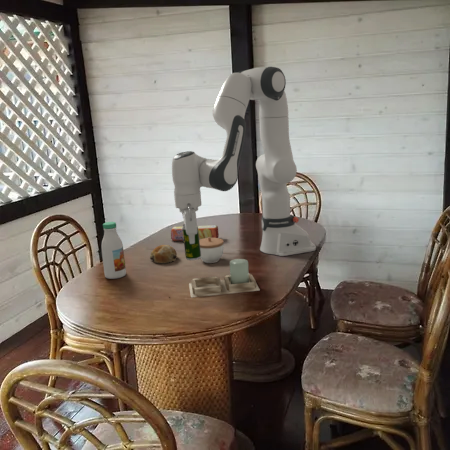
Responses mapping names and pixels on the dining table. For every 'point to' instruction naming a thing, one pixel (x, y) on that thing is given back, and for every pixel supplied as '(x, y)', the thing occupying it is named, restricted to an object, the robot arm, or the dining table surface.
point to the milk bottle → (112, 252)
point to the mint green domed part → (239, 271)
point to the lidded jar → (211, 249)
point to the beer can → (191, 246)
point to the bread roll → (163, 254)
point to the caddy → (220, 286)
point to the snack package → (203, 231)
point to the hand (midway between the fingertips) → (191, 240)
